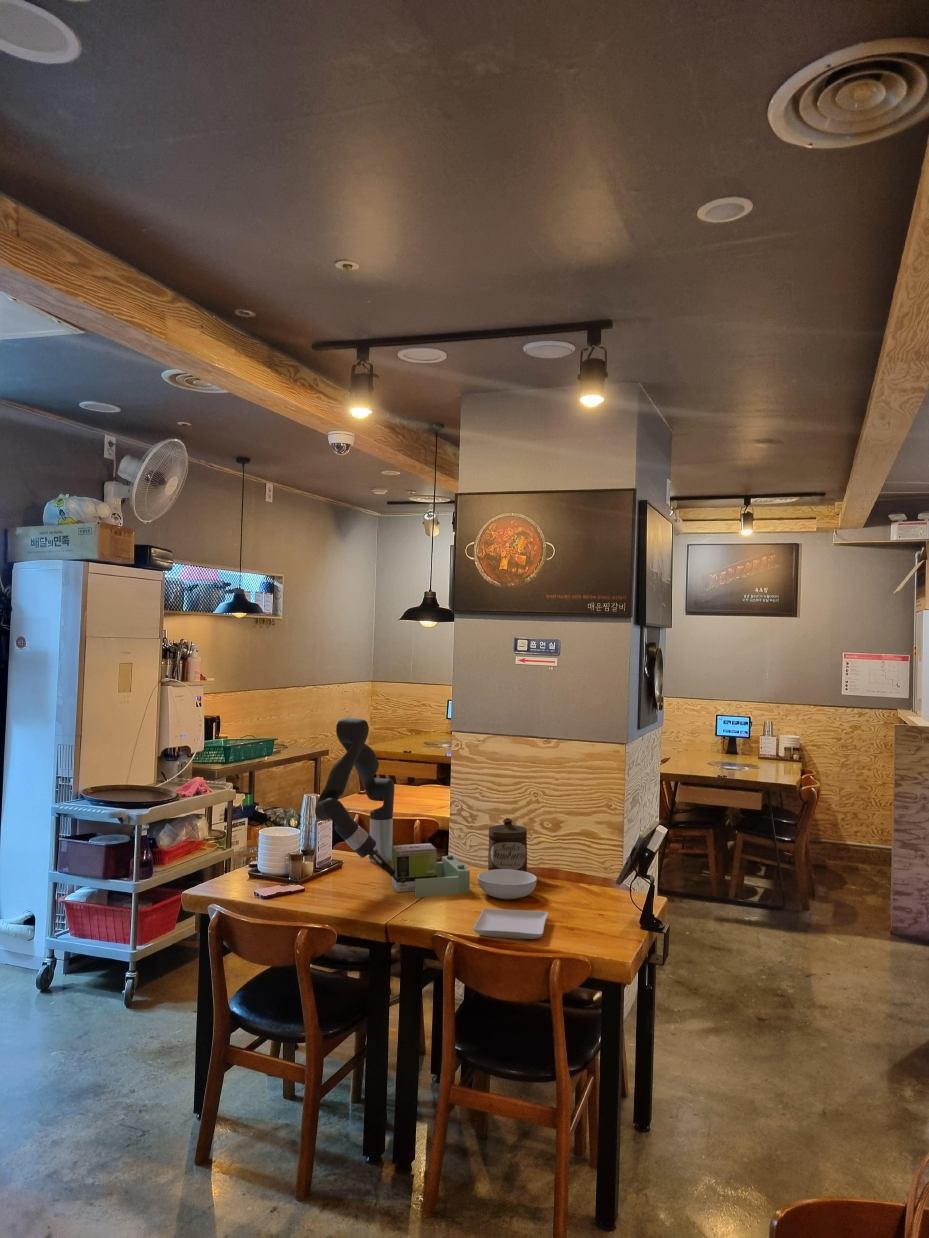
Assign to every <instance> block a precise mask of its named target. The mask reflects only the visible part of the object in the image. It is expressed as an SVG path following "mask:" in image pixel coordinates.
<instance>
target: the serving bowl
mask: <svg viewBox="0 0 929 1238" xmlns="http://www.w3.org/2000/svg"><path fill="white" fill-rule="evenodd" d="M537 881H538V877H537V876H536V875H535V874H533V873H530V872H528V871H527V872H525V871H519V870H511V869H496V870H488V869H487V870H484V871H482V872H479V873H478V874H477V882H478V885H479V888H480V889H481V891H482V892H483V893H485V894H487V895H488V896H490V897H492V898H493V897H494V898H495V899H496V898H497V899H500V900H516V899H521V898H524V897H527V896H529V895H530V894H531V893H532V892H533V891H534V890H535V889H536V885H537Z"/></svg>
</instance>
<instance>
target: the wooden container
mask: <svg viewBox="0 0 929 1238" xmlns="http://www.w3.org/2000/svg"><path fill="white" fill-rule="evenodd" d="M502 822H503V824H497V825H493V826H490V827H488V857H487V871H488V870H496V869H511V870H519V871H525V872H528V842H527V841H528V840H527V839H528V837H527V836H528V834H527V827H524V826H522V825H517V824H512V823H513V820H512V819H511V818H509V817H505V818H504V819H503V820H502Z"/></svg>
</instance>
